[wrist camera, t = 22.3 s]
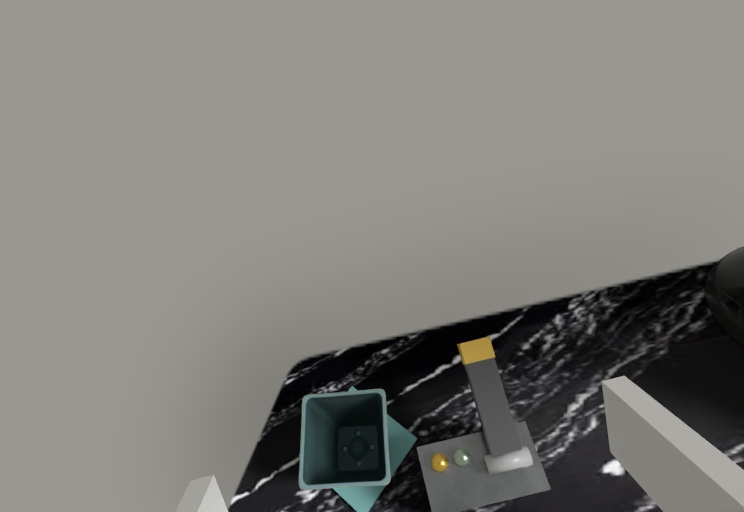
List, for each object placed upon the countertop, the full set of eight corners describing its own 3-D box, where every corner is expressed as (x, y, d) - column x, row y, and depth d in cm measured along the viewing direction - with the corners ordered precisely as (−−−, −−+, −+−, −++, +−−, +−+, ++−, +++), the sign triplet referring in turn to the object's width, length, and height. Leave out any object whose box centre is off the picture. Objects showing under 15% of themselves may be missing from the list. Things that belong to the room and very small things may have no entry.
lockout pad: (417, 439, 49) (417, 438, 48) (364, 517, 45) (363, 518, 45) (352, 387, 53) (352, 385, 52) (299, 455, 49) (298, 455, 49)
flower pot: (321, 410, 51) (301, 394, 43) (392, 405, 50) (385, 387, 43) (320, 492, 46) (297, 490, 39) (398, 488, 46) (391, 485, 38)
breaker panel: (533, 491, 44) (553, 489, 37) (433, 515, 44) (433, 518, 37) (511, 431, 48) (525, 417, 40) (418, 453, 48) (415, 443, 40)
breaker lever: (534, 466, 37) (494, 335, 40) (491, 477, 37) (454, 345, 40) (529, 462, 39) (490, 336, 42) (487, 472, 39) (452, 345, 42)
